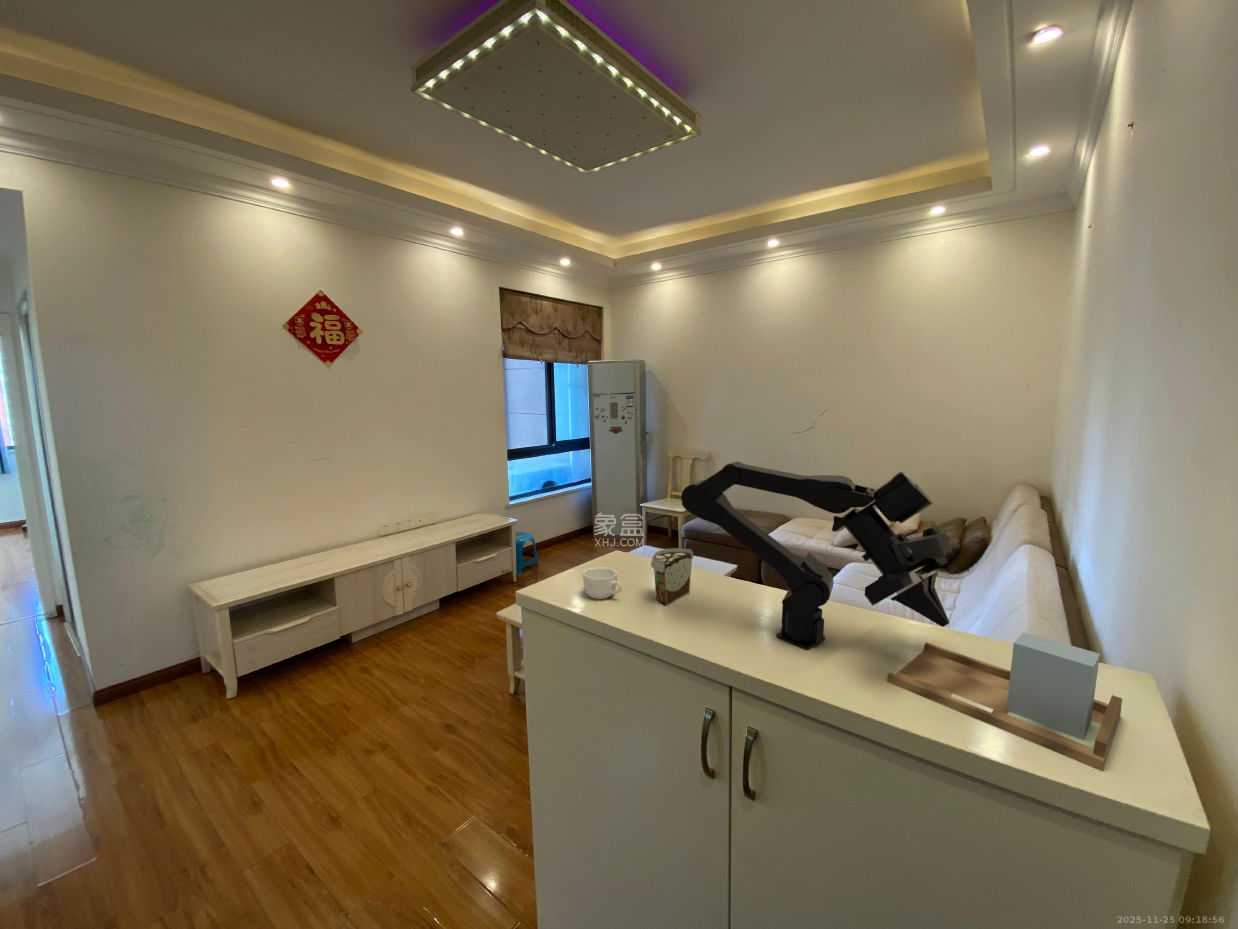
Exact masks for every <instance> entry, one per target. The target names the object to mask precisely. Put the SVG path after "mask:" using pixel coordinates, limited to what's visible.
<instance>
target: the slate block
mask: <svg viewBox="0 0 1238 929" xmlns="http://www.w3.org/2000/svg"><path fill="white" fill-rule="evenodd" d="M1100 656H1101V653H1098V652H1095V651H1091V650H1088V649H1084V648H1080V647H1077V646H1075V645H1070V644H1066V643H1063V642H1060V641H1057V640H1056V641H1055V640H1053V639H1049V638H1046V637H1042V636H1038V635H1035V634H1032V633H1028V632H1025V631H1022V632H1021V634H1020V635H1019V636H1018V637H1017V638H1016V640H1014V641H1013V648H1012V656H1011V664H1010V671H1011V673H1010V682H1009V690H1008V700H1007V709H1006V711H1009V712H1012V713H1014V714H1017V715H1019V716H1022V717H1024V718H1027V719H1030V720H1032V721H1035V722H1037V723H1040V724H1042V725H1045V726H1048V727H1050V728H1053V729H1055V730H1058V731H1060V732H1063V733H1066V734H1068V735H1071V736H1073V737H1076V738H1078V739H1081V740H1084V739H1085V737H1086V734H1087V732H1088V729H1089V727H1090V724H1091V717H1092V710H1093V702H1094V699H1095V693H1096V688H1097V687H1096V686H1097V679H1098V673H1099V663H1100Z"/></svg>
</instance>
